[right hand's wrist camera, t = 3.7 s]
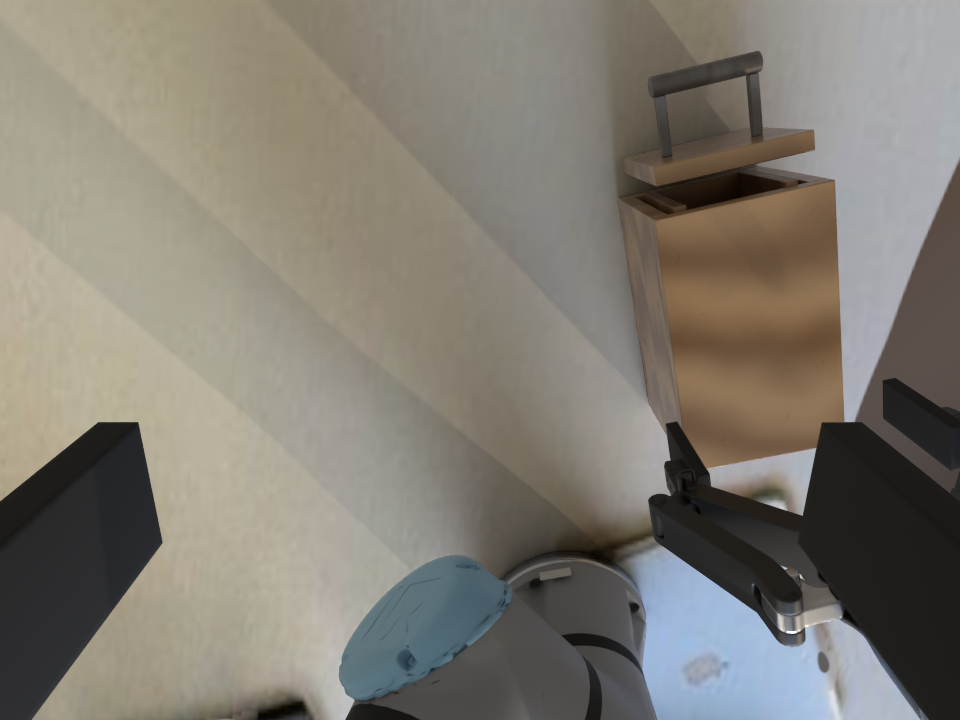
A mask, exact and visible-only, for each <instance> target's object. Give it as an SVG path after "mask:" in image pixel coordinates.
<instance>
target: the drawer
mask: <svg viewBox="0 0 960 720" xmlns="http://www.w3.org/2000/svg"><path fill="white" fill-rule="evenodd" d="M762 67H763V58H762V55H761V53H760V52H759V51H755V52H751V53H747V54H743V55H739V56H735V57H731V58H726V59H722V60H718V61H714V62H710V63H706V64H702V65H698V66H694V67H690V68H686V69H681V70H677V71H673V72H669V73H665V74H661V75H657V76H653V77H650V78H649V80H648V88H649V93H650V96H651V97H652V98H654V101H655V109H656V117H657V125H658V133H659V141H660V148H661V149H658V150H653V151H649V152H645V153H641V154H636V155H632V156H628V157H624V158H622V159H623V166H624V173H625V174H627V175H629V176H632V177H634V178H637V179H639V180H642V181H644V182H647V183H649V184H652V185H654V186H662V185H666V184H670V183H675V182H679V181H683V180H688V179H692V178H696V177H701V176H705V175H709V174H714V173H718V172H722V171H727V170H731V169H735V168H740V167H744V166H748V165H753V164H757V163H761V162H766V161H770V160H774V159H779V158H783V157H787V156H792V155H796V154H800V153H805V152H809V151H813V150H815V141H814V130H805V129H782V128H763V127H762V113H761V100H760V86H759V73H758V72H760V71H761V70H762ZM742 76H746V82H747V94H748V107H749V119H750V128H747V129H742V130H738V131H734V132H730V133H725V134H721V135H717V136H713V137H708V138H704V139H700V140H696V141H692V142H687V143H683V144H679V145H675V146H671V139H670V131H669V123H668V114H667V106H666V98H665V95H667V94H671V93H675V92H680V91H684V90H688V89H692V88H696V87H700V86H704V85H708V84H713V83H717V82H721V81H725V80H729V79H733V78H737V77H742ZM795 185H798V180H796V179H791V178H786V177H781V176H776V175H771V174H766V173H761V172H756V171H751V170H746V169H742V170H738V171H734V172H729V173H725V174H721V175H716V176H712V177H708V178H703V179H699V180H695V181H690V182H686V183H682V184H677V185H673V186H669V187H664V188H660V189H656V190H651V191H647V192H643V193H642V198H643V202H645V203H646V204H648V205H650V206H652V207H654V208H656V209H658V210H660V211H662V212H663V213H665V214H672V213H676V212H680V211H685V210H689V209H694V208H698V207H702V206H707V205H711V204H715V203H720V202H724V201H729V200H733V199H737V198H742V197H746V196H751V195H755V194H759V193H764V192H768V191H773V190H777V189H781V188H786V187H790V186H795Z"/></svg>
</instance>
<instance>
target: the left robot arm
mask: <svg viewBox="0 0 960 720" xmlns="http://www.w3.org/2000/svg"><path fill="white" fill-rule="evenodd" d="M883 419H885V420H886V421H887V422H889V423H890V424H891V425H892V426H894V427H895V428H896V429H898V430H899V431H900V432H901V433H903V434H904V435H905V436H907V437H908V438H909V439H910V440H912V441H913V442H914V443H916V444H917V445H918V446H920V447H921V448H922V449H923V450H925V451H926V452H927V453H929V454H930V455H931V456H932V457H934V458H935V459H936V460H938V461H939V462H940V463H941V464H943V465H944V466H945V467H947V468H948V469H949V470H951V471H952V470H957V469H960V412H959V411H957V410H955V409H952V408H949V407H942V408H940V407H939V406H937V405H936V404H934V403H933V402H931V401H930V400H928V399H927V398H925V397H924V396H922V395H920V394H919V393H917V392H916V391H914V390H913V389H911V388H910V387H908V386H907V385H905V384H904V383H902V382H901V381H899V380H898V379H896V378H893V379H888V380H883ZM666 431H667V438H668V445H669V452H670V459H671V461H666V462H665V465H664V469H665V475H666V482H667V487H668V489H669V491H670V493H671V496H668V495H665V494H656V495H653V496H651V497H650V498H649V500H648V502H649V508H650V515H651V522H652V528H653V533H654V539H655V540H656V542H658V543H659V544H661V545H662V546H663V547H665V548H666V549H668V550H669V551H670V552H672V553H673V554H675V555H676V556H678V557H679V558H680V559H682V560H683V561H685V562H686V563H687V564H689V565H690V566H692V567H693V568H695V569H696V570H697V571H699V572H700V573H702V574H703V575H704V576H706V577H707V578H709V579H710V580H712V581H713V582H714V583H716V584H717V585H719V586H720V587H721V588H723V589H724V590H726V591H727V592H729V593H730V594H731V595H733V596H734V597H736V598H737V599H738V600H740V601H741V602H743V603H744V604H746V605H747V606H748V607H750V608H751V609H753V610H754V611H755V612H757V613H758V615H759V616H760V617H761V619H762V620H763V621H764V623H765V624H766V626H767V627H768V628H769V630H770V631H771V633H772V634H773V635H774V637H775V638H776V639H777V640H778V641H779V642H780V643H781V644H783V645H785V646H789V647H797V646H800V645H802V644H803V643H804V642H805V627H809V626H812V625H816V624H820V623H824V622H828V621H831V620H835V619H840V620H841V621H843V622H844V623H846V624H848V625H849V626H851V627H853V628H854V629H856V630H857V631H858V632H860V633H861V634H862V635H863V636H864V637H865V638H866V640H867V641H868V643H869V645H870V646H871V648H872V650H873V652H874V653H875V655H876V657H877V659H878V660H879V662H880V663H881V665H882V666H883V668H884V669H885V671H886V672H887V674H888V675H889V676H890V678H891V679H892V681H893V682H894V683H895V685H896V686H897V687H898V689H899V690H900V692H901V693H902V694H903V696H904V697H905V699H906V700H907V701H908V703H909V704H910V706H911V707H912V708H913V710H914V711H915V713H916V714H917V715H918V717H919V718H920V720H928V718H927V717H926V716H925V714H924V713H923V712H922V710H921V709H920V708H919V706H918V705H917V703H916V702H915V701H914V699H913V698H912V697H911V695H910V694H909V693H908V691H907V690H906V689H905V687H904V686H903V685H902V683H901V682H900V681H899V679H898V678H897V676H896V675H895V674H894V672H893V671H892V670H891V668H890V667H889V666H888V664H887V663H886V662H885V660H884V659H883V658H882V656H881V655H880V654H879V652H878V651H877V649H876V648H875V647H874V645H873V644H872V643H871V641H870V640H869V639H868V637H867V636H866V635H865V633H864V632H863V631H862V629H861V628H860V627H859V625H858V624H857V623H856V621H855V620H854V618H853V617H852V616H851V614H850V613H849V612H848V610H847V609H846V608H845V606H844V605H843V604H842V602H841V601H840V600H839V598H838V597H837V596H836V594H835V593H834V591H833V590H832V589H831V587H830V586H829V585H828V583H827V582H826V581H825V579H824V578H823V577H822V575H821V574H820V573H819V571H818V570H817V569H816V567H815V566H814V564H813V563H812V562H811V560H810V559H809V558H808V556H807V555H806V554H805V552H804V551H803V550H802V548H801V547H800V546H799V544H798V543H797V542H798V537H799V532H800V527H801V522H802V518H803V516H801V515H798V514H795V513H792V512H789V511H785V510H782V509H779V508H776V507H773V506H770V505H767V504H764V503H760V502H757V501H754V500H751V499H748V498H745V497H742V496H739V495H736V494H732V493H729V492H726V491H723V490H720V489H717V488H714V487H711V482H710V474H709V472H708V470H707V469H706V467H705V466H704V464H703V462H702V461H701V459H700V457H699V456H698V454H697V453H696V451H695V449H694V448H693V446H692V445H691V443H690V441H689V440H688V438H687V436H686V435H685V433H684V432H683V430H682V428H681V427H680V425H679V423H678V422H677V421H676V422H671V423H666ZM951 495H952V496H954V497H955V498H956V499H957V500H959V501H960V472H959V476H958V479H957V482H956V485H955V488H952V491H951ZM780 565H781V566H784V567H786V568H788V569H786V570H784V569H783V568H782V567H781V566H780ZM799 573H800V574H801V575H802V577H803V578H804V579H805V581H806V582H805V581H804V580H803V579H801V578H800V575H799ZM808 583H809V584H808ZM645 637H646V614H645V609H644V606H643V603H642V600H641V597H640V594H639V591H638V589H637V587H636V585H635V584H634V582H633V581H632V579H631V578H630V577H629V576H628V575H627V574H626V573H625V572H624V571H623V570H622V569H621V568H619V567H618V566H617V565H615V564H613V563H612V562H610V561H608V560H606V559H604V558H601V557H598V556H595V555H592V554H587V553H581V552H556V553H550V554H545V555H542V556H538V557H535V558H533V559H530V560H528V561H526V562H524V563H522V564H521V565H519V566H517V567H516V568H515V569H513V570H512V571H511V572H509V573H508V574H507V575H506V576H505V577H504V578H503V579H502V580H501V579H498V578H496V577H495V576H494V575H493V574H491V573H490V572H489V571H488V570H487V569H485V568H484V567H483V566H482V565H481V564H479V563H478V562H477V561H475V560H473V559H471V558H469V557H465V556H459V555H454V556H446V557H442V558H439V559H436V560H434V561H431V562H429V563H427V564H425V565H423V566H421V567H420V568H418V569H416V570H415V571H413V572H412V573H410V574H409V575H408V576H406V577H405V578H404V579H403V580H402V581H400V582H399V583H397V584H396V585H395V586H394V587H393V588H392V589H391V590H390V591H388V592H387V593H386V594H385V595H384V596H383V597H382V598H381V599H380V600H379V602H378V603H377V604H376V605H375V606H374V607H373V608H372V609H371V611H370V612H369V613H368V614H367V615H366V617H365V618H364V619H363V621H362V622H361V623H360V625H359V626H358V628H357V629H356V631H355V632H354V634H353V635H352V637H351V638H350V640H349V642H348V644H347V646H346V648H345V650H344V653H343V655H342V664H341V665H340V668H339V679H340V682H341V684H342V686H343V687H344V688H345V692H346V694H347V695H348V696H350V697H351V698H353V699H354V700H355V701H354V703H353V705H352V708H351V710H350V712H349V714H348V716H347V718H346V719H345V720H657V718H656V714H655V711H654V708H653V704H652V701H651V698H650V695H649V691H648V688H647V685H646V681H645V678H644V675H643V671H642V665H643V656H644V646H645Z"/></svg>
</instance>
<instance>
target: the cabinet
mask: <svg viewBox="0 0 960 720" xmlns="http://www.w3.org/2000/svg"><path fill="white" fill-rule="evenodd" d="M746 170H751V171H756V172H761V173H766V174H771V175H776V176H781V177H786V178H791V179H796V180H798V185H795V186H790V187H786V188H781V189H777V190H773V191H768V192H764V193H759V194H755V195H751V196H746V197H742V198H737V199H733V200H729V201H724V202H720V203H715V204H711V205H707V206H702V207H698V208H694V209H689V210H685V211H680V212H676V213H672V214H665V213H663V212H662V211H660V210H658V209H656V208H654V207H652V206H650V205H648V204H646V203H645V202H643V198H642V193H639V194H635V195H630V196H626V197H622V198H618V203H619V210H620V216H621V223H622V229H623V236H624V243H625V249H626V256H627V262H628V269H629V275H630V282H631V288H632V295H633V302H634V308H635V315H636V321H637V328H638V334H639V341H640V348H641V354H642V361H643V367H644V374H645V380H646V387H647V393H648V400H649V405H650V407H651V409H652V411H653V413H654V414H655V416H656V418H657V419H658V421H659V423H660V425H661V426H662V428H663V430H664V431H665V433H666V435H667V431H666V423H671V422H676V421H677V422H678V423H679V425H680V427H681V428H682V430H683V432H684V433H685V435H686V436H687V438H688V440H689V441H690V443H691V445H692V446H693V448H694V449H695V451H696V453H697V454H698V456H699V457H700V459H701V461H702V462H703V464H704V466H705V467H706V469H711V468H716V467H721V466H727V465H732V464H737V463H742V462H747V461H752V460H757V459H762V458H767V457H772V456H778V455H783V454H788V453H793V452H798V451H803V450H808V449H813V448H817V443H818V439H819V434H820V429H821V424H822V422H844V403H843V377H842V352H841V326H840V300H839V275H838V249H837V224H836V198H835V180H832V179H826V178H822V177H816V176H810V175H805V174H799V173H794V172H788V171H783V170H777V169H772V168H766V167H760V166H756V167H752V168H747V169H746Z"/></svg>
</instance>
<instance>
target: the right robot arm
mask: <svg viewBox="0 0 960 720" xmlns="http://www.w3.org/2000/svg"><path fill="white" fill-rule="evenodd" d="M162 543H163V542H162V537H161V532H160V527H159V522H158V518H157V513H156V508H155V503H154V498H153V493H152V488H151V483H150V478H149V473H148V468H147V463H146V458H145V453H144V448H143V443H142V439H141V434H140V429H139V424H138V422H98V423H97V424H96V425H94V426H93V427H92V428H91V429H89V430H88V431H87V432H86V433H84V434H83V435H82V436H81V437H80V438H78V439H77V440H76V441H75V442H73V443H72V444H71V445H70V446H68V447H67V448H66V449H65V450H63V451H62V452H61V453H60V454H58V455H57V456H56V457H55V458H53V459H52V460H51V461H50V462H49V463H47V464H46V465H45V466H44V467H42V468H41V469H40V470H39V471H37V472H36V473H35V474H34V475H32V476H31V477H30V478H29V479H27V480H26V481H25V482H24V483H22V484H21V485H20V486H19V487H18V488H16V489H15V490H14V491H13V492H11V493H10V494H9V495H8V496H6V497H5V498H4V499H3V500H1V501H0V720H32V718H33V717H34V716H35V714H36V713H37V712H38V710H39V709H40V708H41V706H42V705H43V703H44V702H45V701H46V699H47V698H48V697H49V695H50V694H51V693H52V691H53V690H54V689H55V687H56V686H57V685H58V683H59V682H60V681H61V679H62V678H63V676H64V675H65V674H66V672H67V671H68V670H69V668H70V667H71V666H72V664H73V663H74V662H75V660H76V659H77V658H78V656H79V655H80V654H81V652H82V651H83V649H84V648H85V647H86V645H87V644H88V643H89V641H90V640H91V639H92V637H93V636H94V635H95V633H96V632H97V631H98V629H99V628H100V627H101V625H102V624H103V623H104V621H105V620H106V618H107V617H108V616H109V614H110V613H111V612H112V610H113V609H114V608H115V606H116V605H117V604H118V602H119V601H120V600H121V598H122V597H123V596H124V594H125V593H126V591H127V590H128V589H129V587H130V586H131V585H132V583H133V582H134V581H135V579H136V578H137V577H138V575H139V574H140V573H141V571H142V570H143V569H144V567H145V566H146V564H147V563H148V562H149V560H150V559H151V558H152V556H153V555H154V554H155V552H156V551H157V550H158V548H159V547H160V546H161V544H162ZM797 543H798V544H799V546H800V547H801V548H802V550H803V551H804V552H805V554H806V555H807V556H808V558H809V559H810V560H811V562H812V563H813V564H814V566H815V567H816V569H817V570H818V571H819V573H820V574H821V575H822V577H823V578H824V579H825V581H826V582H827V583H828V585H829V586H830V587H831V589H832V590H833V591H834V593H835V594H836V596H837V597H838V598H839V600H840V601H841V602H842V604H843V605H844V606H845V608H846V609H847V610H848V612H849V613H850V614H851V616H852V617H853V618H854V620H855V621H856V623H857V624H858V625H859V627H860V628H861V629H862V631H863V632H864V633H865V635H866V636H867V637H868V639H869V640H870V641H871V643H872V644H873V645H874V647H875V648H876V649H877V651H878V652H879V654H880V655H881V656H882V658H883V659H884V660H885V662H886V663H887V664H888V666H889V667H890V668H891V670H892V671H893V672H894V674H895V675H896V676H897V678H898V679H899V681H900V682H901V683H902V685H903V686H904V687H905V689H906V690H907V691H908V693H909V694H910V695H911V697H912V698H913V699H914V701H915V702H916V703H917V705H918V706H919V708H920V709H921V710H922V712H923V713H924V714H925V716H926V717H927V718H928V720H960V501H959V500H957V499H956V498H955V497H954V496H952V495H951V494H950V493H949V492H947V491H946V490H945V489H944V488H942V487H941V486H940V485H939V484H938V483H936V482H935V481H934V480H932V479H931V478H930V477H929V476H928V475H926V474H925V473H924V472H923V471H921V470H920V469H919V468H918V467H916V466H915V465H914V464H913V463H911V462H910V461H909V460H908V459H907V458H905V457H904V456H903V455H902V454H900V453H899V452H898V451H897V450H895V449H894V448H893V447H892V446H890V445H889V444H888V443H887V442H885V441H884V440H883V439H882V438H880V437H879V436H878V435H877V434H876V433H874V432H873V431H872V430H871V429H869V428H868V427H867V426H866V425H864V424H863V423H862V422H822V424H821V429H820V434H819V439H818V443H817V448H816V453H815V458H814V463H813V468H812V473H811V478H810V483H809V488H808V493H807V498H806V503H805V508H804V513H803V518H802V522H801V527H800V532H799V537H798V542H797Z"/></svg>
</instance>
